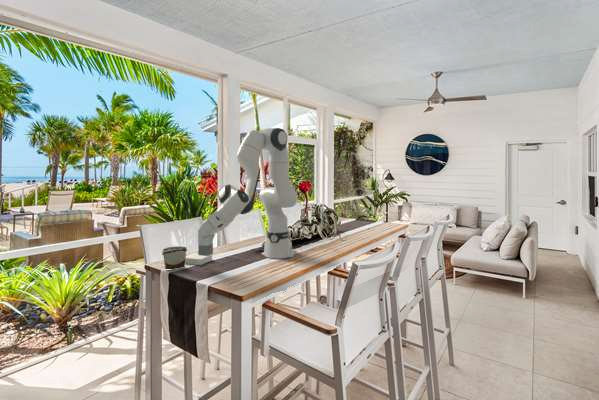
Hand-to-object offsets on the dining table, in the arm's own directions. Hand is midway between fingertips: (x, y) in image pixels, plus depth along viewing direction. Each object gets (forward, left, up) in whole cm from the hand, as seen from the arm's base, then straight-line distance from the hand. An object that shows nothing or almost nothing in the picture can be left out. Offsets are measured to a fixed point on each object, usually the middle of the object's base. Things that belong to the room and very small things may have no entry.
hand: (204, 237), depth 169 cm
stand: (-12, -11, -16) cm, 23 cm away
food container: (+2, -16, -16) cm, 23 cm away
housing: (0, +1, -8) cm, 8 cm away
